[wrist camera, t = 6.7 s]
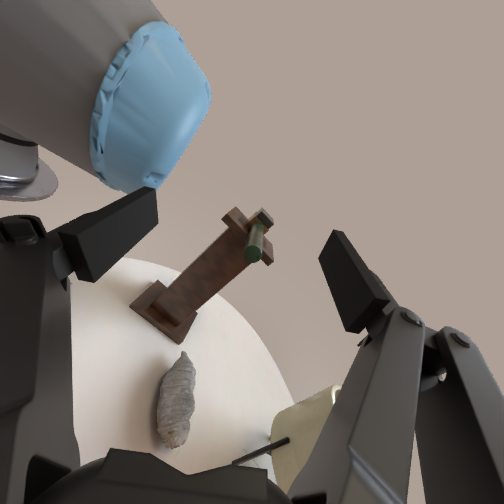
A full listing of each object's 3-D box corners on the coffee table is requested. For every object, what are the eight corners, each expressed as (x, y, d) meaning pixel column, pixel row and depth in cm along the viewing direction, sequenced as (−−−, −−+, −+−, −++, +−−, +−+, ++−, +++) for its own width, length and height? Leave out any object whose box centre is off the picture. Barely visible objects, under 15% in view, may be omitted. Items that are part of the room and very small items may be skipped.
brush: (256, 270, 24) (279, 251, 23) (234, 249, 23) (257, 227, 22) (260, 231, 44) (273, 219, 43) (248, 218, 43) (261, 206, 42)
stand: (128, 306, 40) (222, 209, 32) (154, 283, 50) (232, 202, 41) (179, 344, 43) (277, 265, 35) (194, 316, 53) (275, 247, 44)
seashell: (197, 355, 42) (213, 351, 36) (175, 441, 33) (191, 452, 28) (169, 348, 39) (182, 343, 34) (137, 439, 31) (147, 451, 25)
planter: (234, 414, 42) (319, 368, 36) (280, 438, 47) (362, 402, 40) (227, 536, 28) (362, 498, 22) (293, 552, 33) (420, 525, 27)
